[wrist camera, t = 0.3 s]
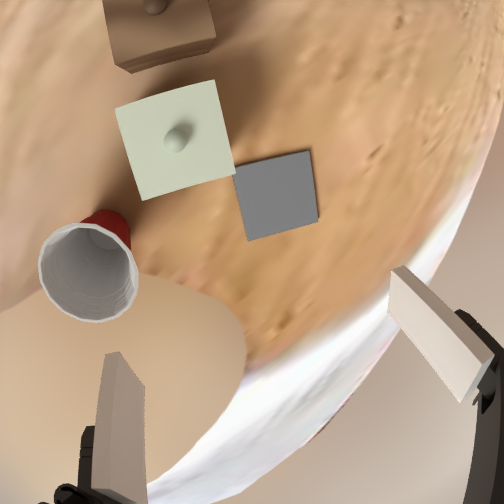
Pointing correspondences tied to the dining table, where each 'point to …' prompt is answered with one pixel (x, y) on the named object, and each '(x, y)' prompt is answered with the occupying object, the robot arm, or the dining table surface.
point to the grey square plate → (276, 194)
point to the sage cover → (176, 139)
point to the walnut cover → (157, 31)
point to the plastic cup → (90, 268)
